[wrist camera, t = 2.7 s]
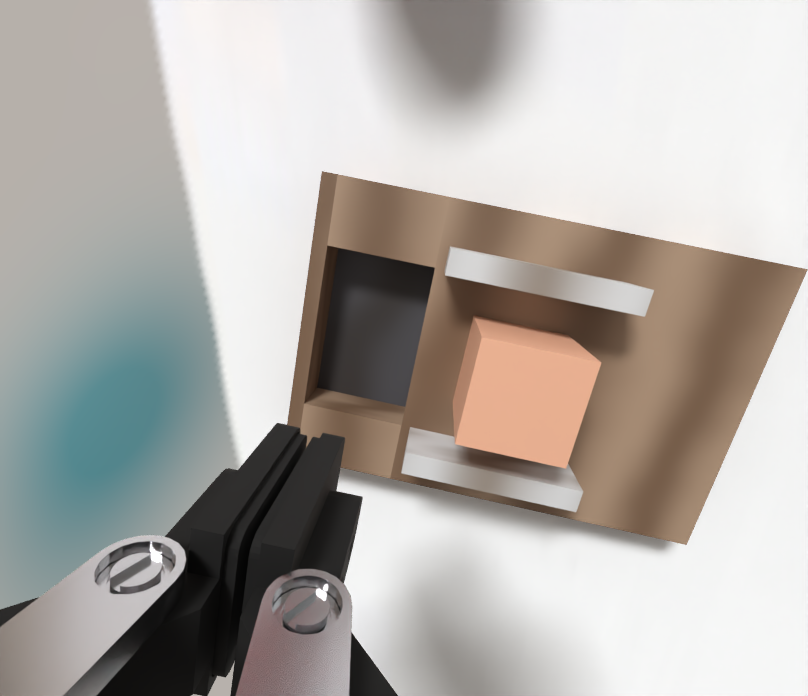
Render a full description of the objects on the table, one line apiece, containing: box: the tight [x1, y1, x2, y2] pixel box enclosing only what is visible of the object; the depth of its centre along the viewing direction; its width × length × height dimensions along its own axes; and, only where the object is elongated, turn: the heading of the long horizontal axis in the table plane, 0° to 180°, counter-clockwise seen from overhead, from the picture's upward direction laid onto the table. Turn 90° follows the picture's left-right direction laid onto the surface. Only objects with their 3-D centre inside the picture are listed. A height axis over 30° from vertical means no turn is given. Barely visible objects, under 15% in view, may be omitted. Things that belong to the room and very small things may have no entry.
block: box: [453, 316, 601, 469], centre depth 21 cm, size 5×5×5 cm
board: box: [287, 171, 808, 545], centre depth 24 cm, size 24×16×6 cm, turn 79°
